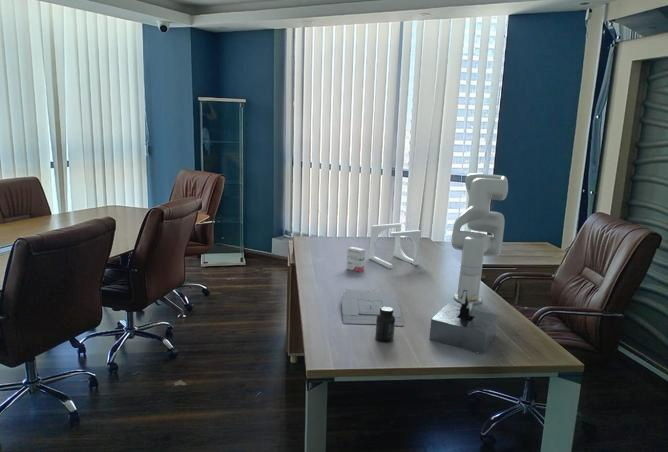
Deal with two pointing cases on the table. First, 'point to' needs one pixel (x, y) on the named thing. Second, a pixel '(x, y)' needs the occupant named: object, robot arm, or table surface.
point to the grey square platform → (463, 328)
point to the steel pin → (469, 308)
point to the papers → (368, 306)
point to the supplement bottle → (385, 325)
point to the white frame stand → (398, 250)
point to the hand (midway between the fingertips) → (465, 315)
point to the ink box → (355, 259)
